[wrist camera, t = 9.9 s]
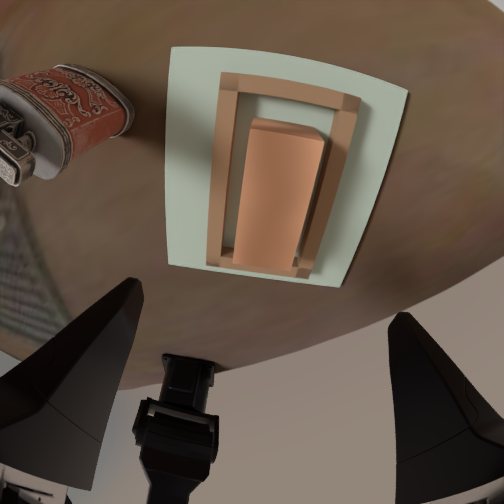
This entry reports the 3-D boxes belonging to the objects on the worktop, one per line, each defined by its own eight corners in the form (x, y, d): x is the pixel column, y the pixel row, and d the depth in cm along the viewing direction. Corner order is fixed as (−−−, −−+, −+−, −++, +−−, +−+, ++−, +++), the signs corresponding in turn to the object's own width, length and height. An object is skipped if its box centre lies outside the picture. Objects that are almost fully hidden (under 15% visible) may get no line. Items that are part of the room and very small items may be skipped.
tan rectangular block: (313, 127, 15) (324, 141, 12) (287, 238, 20) (290, 271, 17) (253, 116, 15) (249, 128, 12) (238, 231, 19) (232, 263, 17)
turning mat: (338, 284, 23) (341, 297, 21) (169, 260, 22) (164, 274, 21) (405, 89, 13) (417, 92, 12) (173, 47, 12) (164, 45, 11)
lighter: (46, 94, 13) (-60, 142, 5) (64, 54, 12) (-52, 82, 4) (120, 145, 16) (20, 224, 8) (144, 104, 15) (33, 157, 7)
